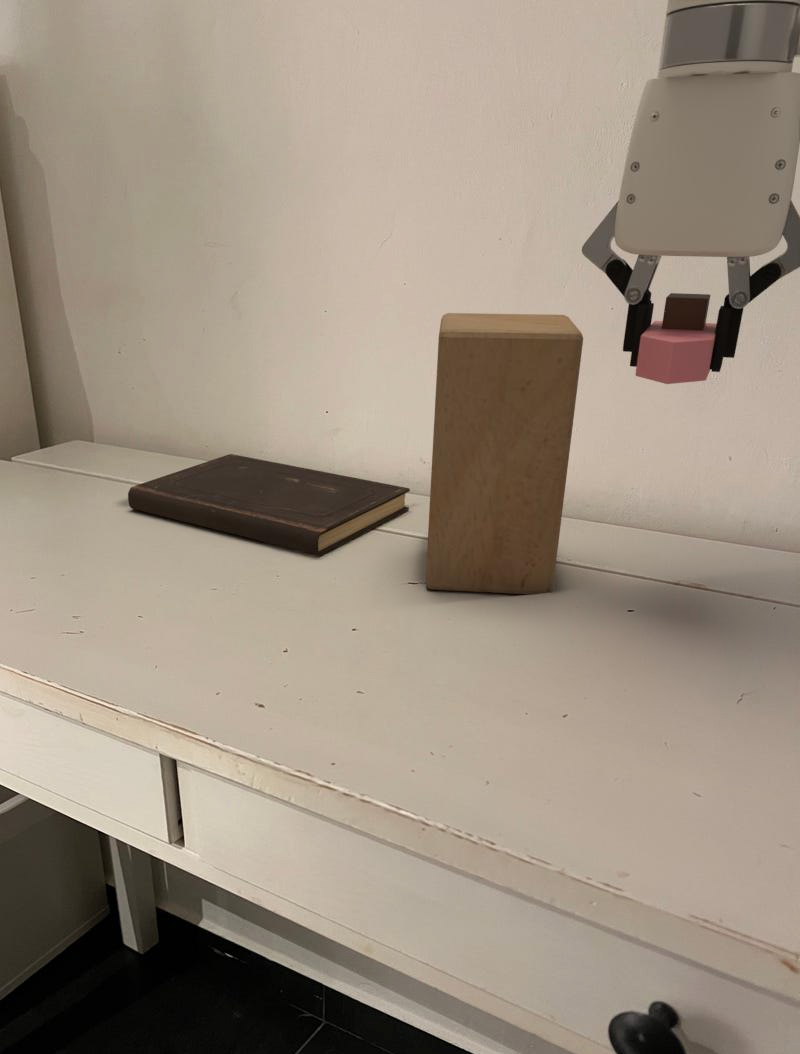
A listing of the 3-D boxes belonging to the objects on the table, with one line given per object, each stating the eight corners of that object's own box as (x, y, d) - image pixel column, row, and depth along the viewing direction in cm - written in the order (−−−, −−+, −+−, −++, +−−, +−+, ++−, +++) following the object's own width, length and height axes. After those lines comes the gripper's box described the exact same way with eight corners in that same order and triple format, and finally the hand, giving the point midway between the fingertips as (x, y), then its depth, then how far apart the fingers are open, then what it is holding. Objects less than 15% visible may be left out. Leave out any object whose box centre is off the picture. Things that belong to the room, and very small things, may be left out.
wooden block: (428, 547, 82) (441, 312, 73) (542, 552, 81) (569, 314, 72) (424, 591, 73) (438, 329, 64) (552, 597, 72) (585, 332, 63)
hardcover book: (231, 473, 103) (230, 453, 102) (408, 510, 91) (409, 488, 90) (128, 510, 91) (126, 488, 90) (317, 558, 79) (317, 533, 78)
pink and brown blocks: (648, 358, 67) (658, 290, 64) (713, 362, 65) (725, 293, 63) (630, 381, 59) (641, 306, 57) (703, 386, 57) (717, 309, 55)
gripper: (882, 49, 54) (811, 365, 62) (592, 65, 61) (562, 350, 69) (895, 32, 48) (814, 385, 56) (571, 52, 55) (540, 367, 63)
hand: (676, 363), depth 62 cm, fingers closed on pink and brown blocks, 4 cm apart
